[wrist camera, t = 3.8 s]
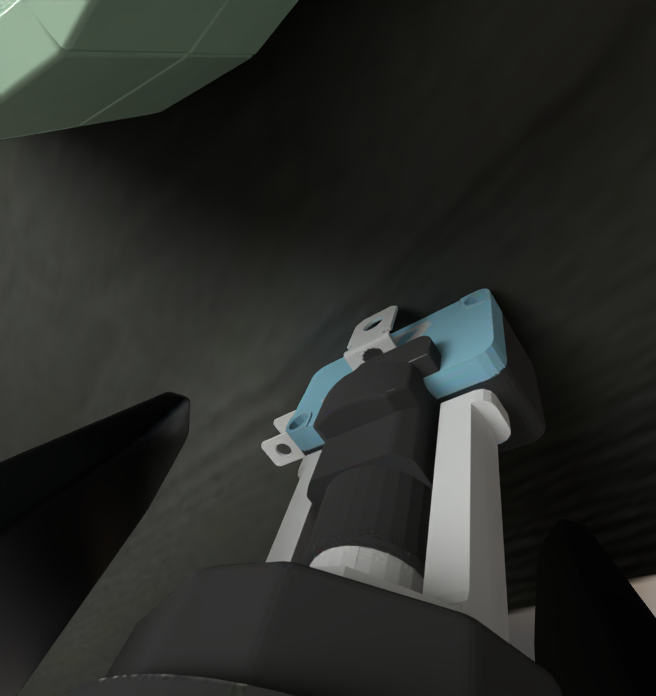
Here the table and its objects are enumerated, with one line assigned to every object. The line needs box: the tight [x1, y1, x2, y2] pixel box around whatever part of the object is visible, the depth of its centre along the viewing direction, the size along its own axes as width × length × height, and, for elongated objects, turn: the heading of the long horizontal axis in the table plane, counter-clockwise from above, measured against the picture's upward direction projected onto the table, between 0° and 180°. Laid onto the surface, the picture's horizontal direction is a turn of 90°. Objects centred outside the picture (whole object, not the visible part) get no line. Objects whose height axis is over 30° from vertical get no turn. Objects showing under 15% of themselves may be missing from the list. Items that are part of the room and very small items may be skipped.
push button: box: [64, 289, 562, 696], centre depth 8 cm, size 7×5×10 cm
